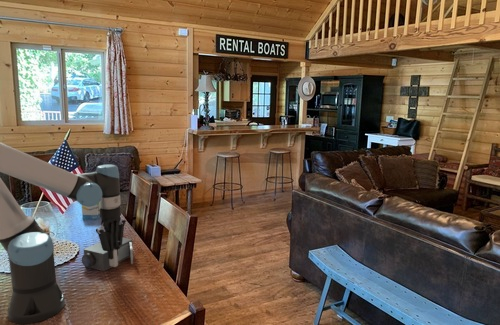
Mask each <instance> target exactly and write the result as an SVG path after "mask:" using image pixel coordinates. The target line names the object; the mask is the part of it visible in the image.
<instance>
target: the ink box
mask: <svg viewBox="0 0 500 325" xmlns="http://www.w3.org/2000/svg"><path fill="white" fill-rule="evenodd" d="M99 208H100V207H99V203H98V204H96V205H94V206H91V207H87V206H84V205H81V213H82V215H81V216H82V220H99V219H101V218H100V212H99Z"/></svg>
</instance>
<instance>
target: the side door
mask: <svg viewBox="0 0 500 325" xmlns="http://www.w3.org/2000/svg"><path fill="white" fill-rule="evenodd" d="M132 241H133V240H132ZM132 241H130V242H129V255H130V257H129V260H130V264H131V265H133V264H134V248H133V249H132Z"/></svg>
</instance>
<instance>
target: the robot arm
mask: <svg viewBox="0 0 500 325" xmlns="http://www.w3.org/2000/svg"><path fill="white" fill-rule="evenodd" d="M0 173H1V174H4V175H7V176H10V177H13V178H16V179H18V180H20V181H23V182H26V183H28V184H31V185H33V186H37V187H39V188H42V189H43V190H44V189H45V190H47V191H50V192H52V193H55V194H58V195H60V196H62V197H64V198H67V199H70V200H72V201H75V202H78V203H79V204H80V205H81V206H82V205H84V206H87V207H91V206H94V205H96V204H98V203H99V207H100V208H99V212H100V218H99V219H101V221H100V226H99V227H98V228H96V229H95V232H96V233H97V235H98V239H99V242H101V245H102V249H103V250H104V251H108V259H109V263H110V266H112V267H113V268H116V267H118V266H119V263H118V259H117V256H118V249H120V247H119V246H120V245H122V240H123V237H124V230H125V229H124V228H125V226H126V225H125V224H126V222H127V221H126V219H122V217H121V216H122V206H121V192H120V191H121V190H120V172H119V167H118V166H117V165H115V164H102V165H98V166H96V170H95V171H93V172H86V173H72V172H70V171H68V170H66V169H63V168H62V167H58V166H56V165H54V164H53V163H50V162H47V161H45V160H43V159H41V158H38V157H35V156H33V155H30V154H29V153H26V152H25V151H24V152H23V151H21V150H19V149H17V148H14V147H12V146H10V145H7V144H5V143H4V142H3V143H2V142H0ZM118 241H119V242H118ZM0 244H1V246H2V247H3V249H4V250H5V252H6V254H7V256H8V257H7V258H8V263H9V271H10V278H11V279H10V280H11V286H12V287H11V288H12V289H11V290H12V293H11V297H10V301H9V306H8V308H7V315H8V321H10V322H11V323H13V324H18V325H28V324H35V323H39V322H42V321H45V320H48V319H50V318H52V317H53V316H55V315H57V314H59V312H61V311H62V309H63V308H64V307H65V297H64V293H63V292H62V290H61V288H60V286H59V284H58V283H57V275H56V266H55V265H56V264H55V254H54V251H55V250H54V249H55V247H54V246H55V245H54V242H53V238H52V237H51V236H50V234H48V233H46V232H45V230H44V229H43V228H42V227H41V226H40V225H39V224H38V222H37V221H36V219H35V217H33V216H30V215H26V214H25V211H23V209H22V208H21V206H20V205H19V203H18V201H17V200H16V198H15V197H14V196H13V194H12V193H11V191H10V190H9V188H8V186H7V185H6V183H5V182H4V181H3V180H2V178H1V177H0Z"/></svg>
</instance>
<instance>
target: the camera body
mask: <svg viewBox="0 0 500 325" xmlns="http://www.w3.org/2000/svg"><path fill="white" fill-rule="evenodd" d="M130 241H132V249H133V250H134V248H133V247H134V246H133V243H134V242H133V239H132V238H129V237H128V238H127V237H124V236H123V240H122V245H120V246H119V247H120V249H118V256H117V259H118V264H120V263H121V262H123V261H125V260H127V259H130V255H129V242H130ZM118 242H119V241H118ZM81 263H82V264H83V266H84V268H89V269H90V268H92V269H95V270H99V271H102V272H105V271H107V270H109V269H110V268H112V267H113V266H110V263H109V259H108V251H104V250H103V249H102V245H101V242H100V241H99V242H97V243H95V244H92V245H90V246H88V247H86V248H84V249H83V255H82V256H81Z"/></svg>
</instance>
